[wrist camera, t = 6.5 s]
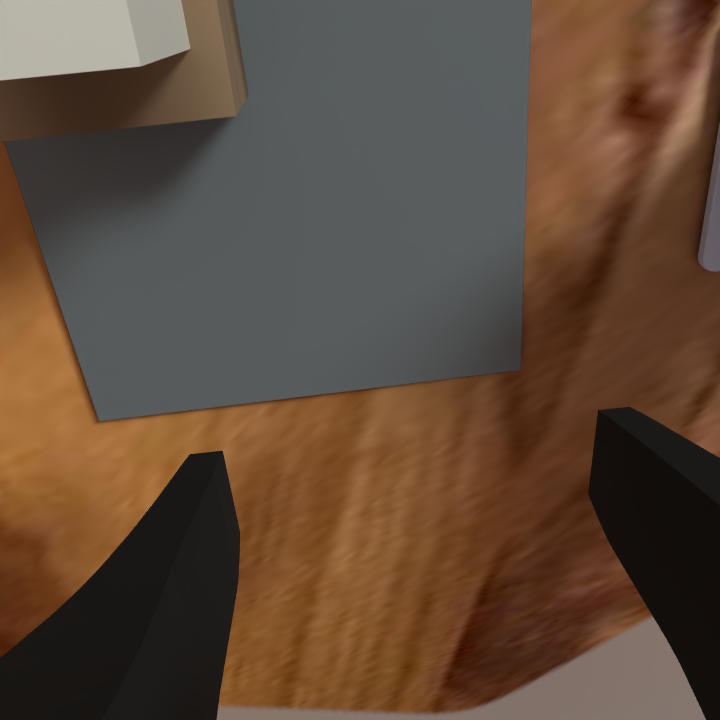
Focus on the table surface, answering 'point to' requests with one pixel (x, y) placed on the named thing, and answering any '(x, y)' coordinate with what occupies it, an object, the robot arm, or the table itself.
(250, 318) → the mat
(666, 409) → the table surface
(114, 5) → the cream cube
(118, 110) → the walnut block
